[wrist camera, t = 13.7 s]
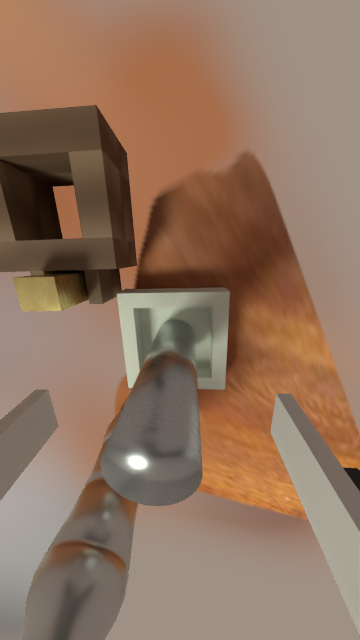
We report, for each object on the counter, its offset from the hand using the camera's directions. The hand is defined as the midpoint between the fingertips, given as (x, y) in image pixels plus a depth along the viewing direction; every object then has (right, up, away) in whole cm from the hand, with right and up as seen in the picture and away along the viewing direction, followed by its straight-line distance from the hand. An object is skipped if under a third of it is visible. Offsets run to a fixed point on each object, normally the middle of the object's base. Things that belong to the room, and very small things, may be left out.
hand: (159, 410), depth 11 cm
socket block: (-9, +14, +9) cm, 19 cm away
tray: (+1, +4, +12) cm, 12 cm away
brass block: (-8, +10, +10) cm, 16 cm away
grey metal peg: (+1, +3, +11) cm, 12 cm away
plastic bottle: (-5, -9, +16) cm, 19 cm away
